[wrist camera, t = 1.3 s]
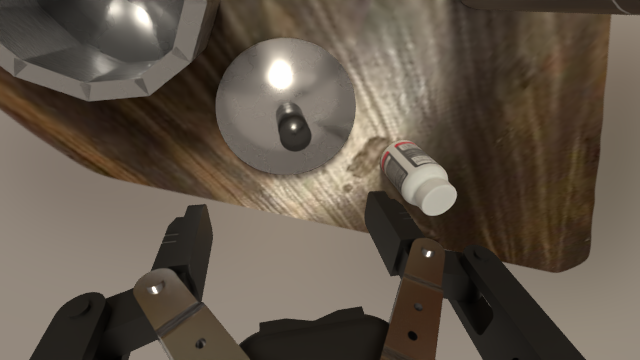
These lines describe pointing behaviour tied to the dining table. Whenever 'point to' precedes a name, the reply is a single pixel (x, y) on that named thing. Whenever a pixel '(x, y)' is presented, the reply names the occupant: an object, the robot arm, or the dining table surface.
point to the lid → (285, 106)
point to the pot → (103, 43)
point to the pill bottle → (418, 177)
